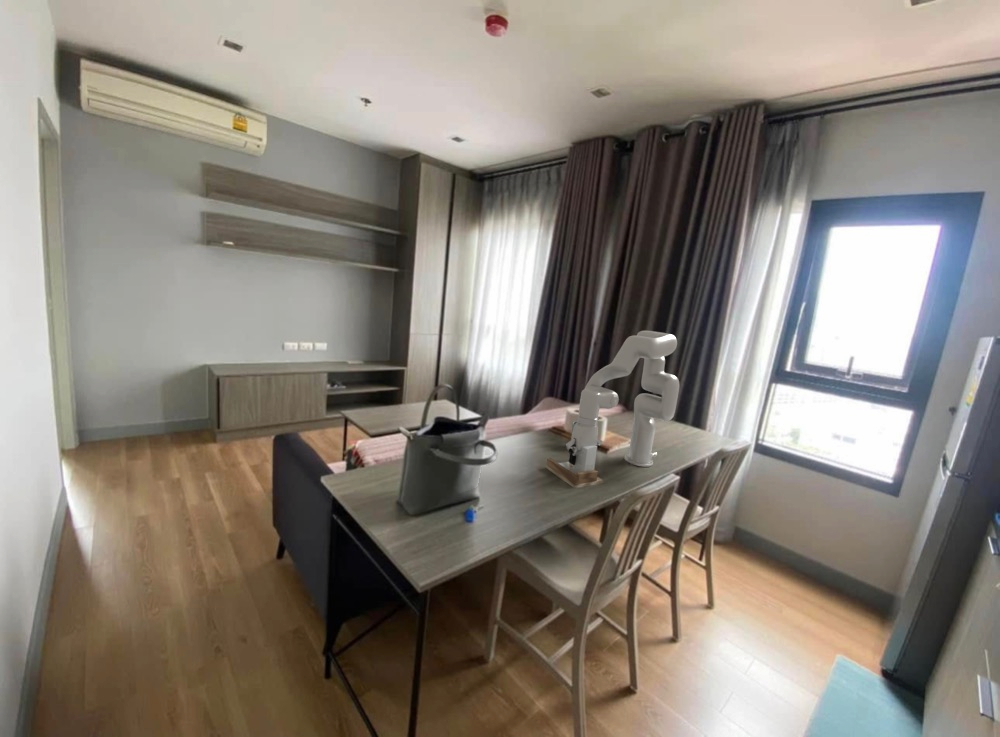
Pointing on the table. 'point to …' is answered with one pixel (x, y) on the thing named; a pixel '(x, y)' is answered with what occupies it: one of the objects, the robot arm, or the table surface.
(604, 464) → the table surface
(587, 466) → the small box
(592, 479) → the wooden tray
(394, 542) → the table surface
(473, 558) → the table surface
